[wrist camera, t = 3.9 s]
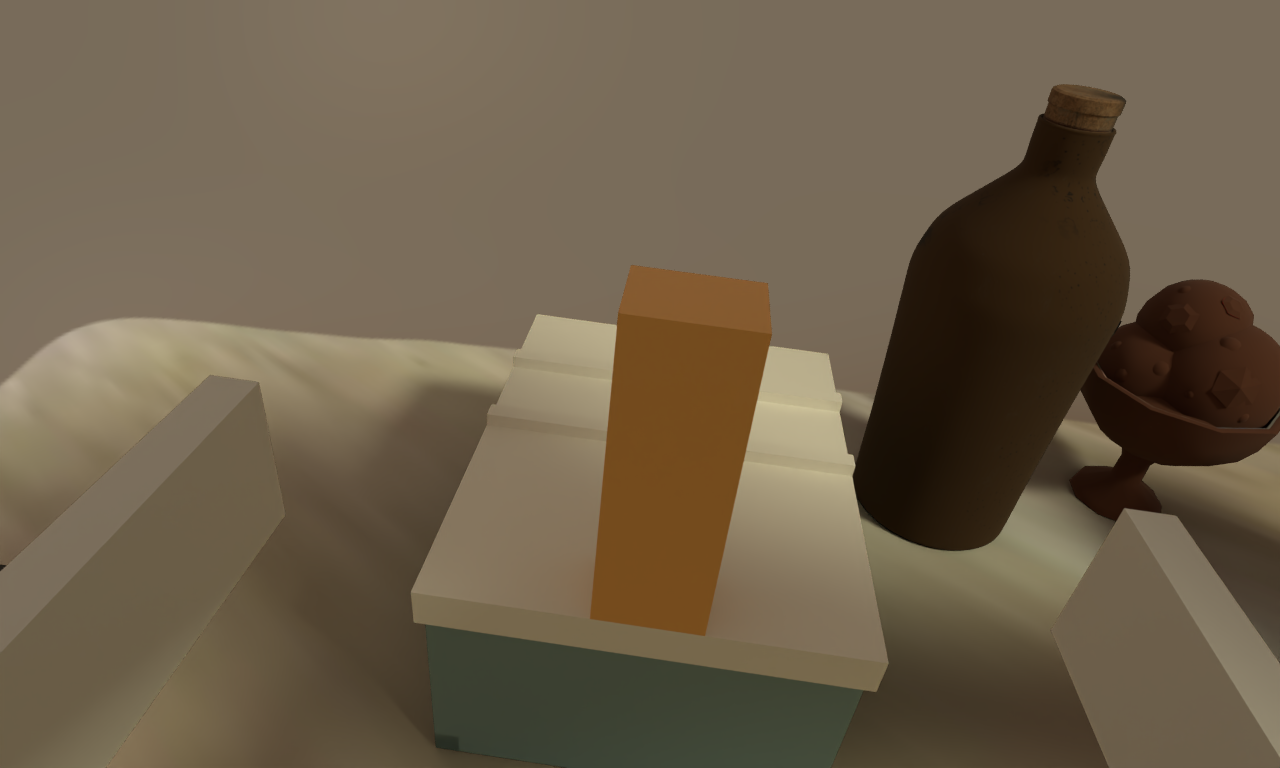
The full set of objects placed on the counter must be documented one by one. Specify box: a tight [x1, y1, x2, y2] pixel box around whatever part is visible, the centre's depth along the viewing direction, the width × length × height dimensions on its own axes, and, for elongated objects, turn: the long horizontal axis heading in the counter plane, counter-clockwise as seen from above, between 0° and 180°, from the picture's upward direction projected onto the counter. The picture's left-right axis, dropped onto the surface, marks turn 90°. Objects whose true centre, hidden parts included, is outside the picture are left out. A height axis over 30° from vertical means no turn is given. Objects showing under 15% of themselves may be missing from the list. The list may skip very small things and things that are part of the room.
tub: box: [425, 624, 864, 768], centre depth 38 cm, size 16×20×8 cm
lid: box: [411, 265, 889, 692], centre depth 32 cm, size 17×21×14 cm
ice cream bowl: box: [1069, 280, 1280, 521], centre depth 47 cm, size 11×11×15 cm
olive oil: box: [853, 84, 1130, 550], centre depth 42 cm, size 11×11×25 cm
